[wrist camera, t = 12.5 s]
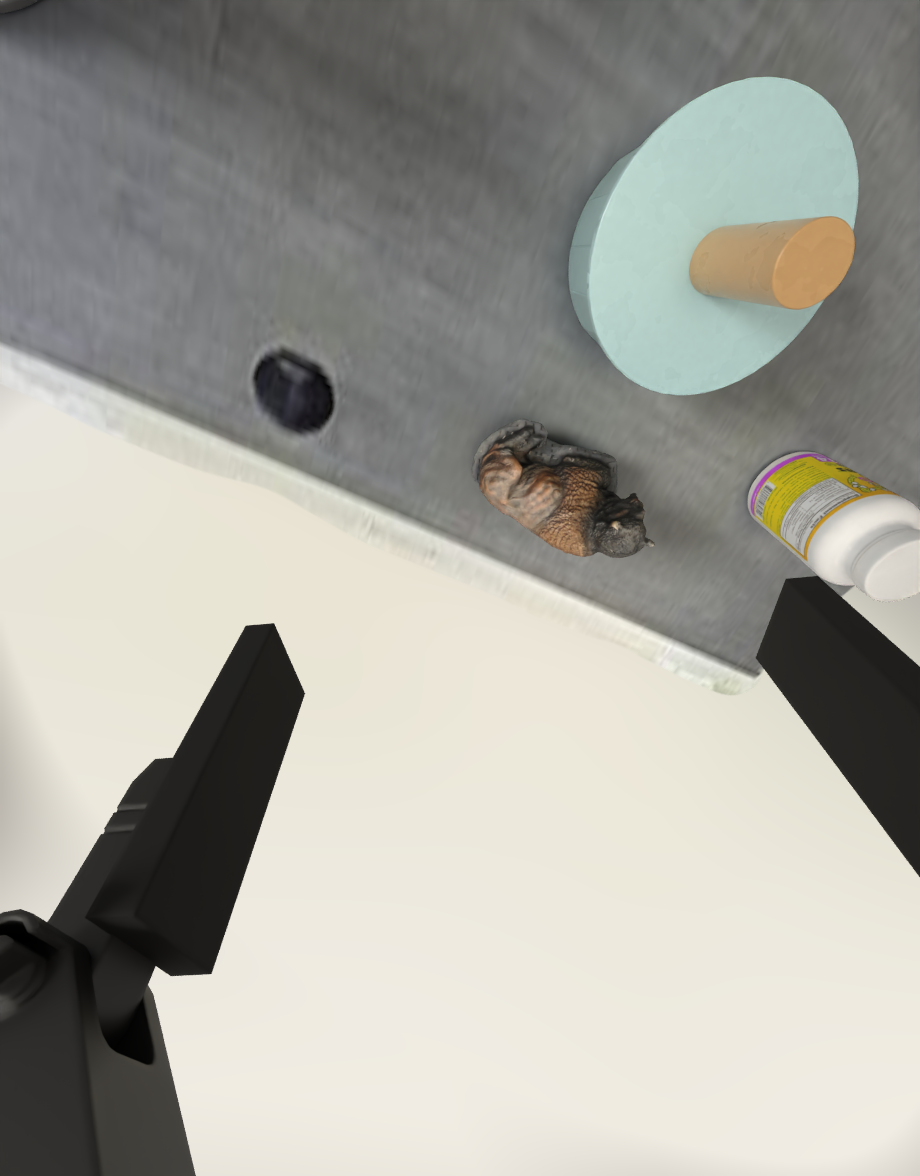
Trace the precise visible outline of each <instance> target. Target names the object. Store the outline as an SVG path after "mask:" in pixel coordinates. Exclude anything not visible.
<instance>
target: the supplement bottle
mask: <svg viewBox="0 0 920 1176" xmlns="http://www.w3.org/2000/svg"><path fill="white" fill-rule="evenodd" d="M747 503H748V509H749V512H750V514H751V516H752V517H753V518H754V519H755V520H756V521H757V522H758V523H759V524H760V525H761V526H762V527H763V528H765V529H766V530H767V531H768V532H769V533H770V534H772V535H773V536H774V537H775V538H776V539H777V540H778V541H780V542H781V543H782V544H783V545H784V546H785V547H787V548H788V549H789V550H790V551H791V552H792V553H793V554H795V555H796V556H797V557H798V558H799V559H800V560H801V561H803V562H804V563H805V564H806V565H807V566H808V567H809V568H810V569H812V570H813V571H814V572H815V573H816V574H817V575H818V576H820V577H821V578H823V579H824V580H826V581H828V582H831V583H834V584H838V585H856V587H857V588H858V589H860V590H861V591H862V592H864V593H865V594H866V595H868V596H869V597H870V598H873V599H874V600H877V601H882V602H891V601H898V600H902V599H905V598H909V597H911V596H913V595H915V594H917V593H919V592H920V510H919V509H918V508H917V507H916V506H915V505H914V504H913V503H911V502H910V501H908V500H906V499H905V498H903V497H901V496H899V495H897V494H895V493H893V492H891V491H889V490H888V489H886V488H884V487H882V486H880V485H878V484H876V483H875V482H873V481H871V480H869V479H868V478H865V477H864V476H861V475H860V474H858V473H856V472H854V471H852V470H851V469H849V468H847V467H845V466H843V465H841V464H839V463H837V462H836V461H834V460H832V459H830V458H828V457H826V456H824V455H821V454H819V453H815V452H807V451H805V452H796V453H792V454H789V455H786V456H783V457H781V458H779V459H777V460H776V461H774V462H773V463H771V464H770V465H769V466H768V467H766V468H765V469H764V470H763V471H762V472H761V473H760V474H759V475H758V477H757V478H756V479H755V481H754V482H753V484H752V486H751V488H750V491H749V494H748V502H747Z"/></svg>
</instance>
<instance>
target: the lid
mask: <svg viewBox="0 0 920 1176" xmlns="http://www.w3.org/2000/svg"><path fill="white" fill-rule="evenodd" d="M858 189H859V180H858V168H857V160H856V156H855V151H854V147H853V143H852V140H851V138H850V135H849V133H848V130H847V128H846V126H845V124H844V122H843V121H842V119H841V118H840V116H839V114H838V113H837V111H836V110H835V109H834V108H833V106H832V105H831V104H830V103H829V102H828V101H827V100H826V99H825V98H824V97H823V96H821V95H820V94H818V93H817V92H815V91H814V90H812V89H811V88H809V87H808V86H806V85H803V84H800V83H798V82H795V81H793V80H790V79H783V78H777V77H754V78H747V79H743V80H739V81H734V82H730V83H728V84H725V85H723V86H720V87H718V88H715V89H713V90H710V91H709V92H707V93H705V94H703V95H702V96H700V97H698V98H696V99H695V100H693V101H691V102H689V103H688V104H686V105H685V106H683V107H682V108H681V109H679V110H678V111H677V112H675V113H674V114H673V115H672V116H670V117H669V118H668V119H666V120H665V121H664V122H663V123H662V124H661V125H660V126H659V127H658V128H657V129H656V130H655V131H654V132H653V133H652V134H651V135H650V136H649V137H648V138H647V139H646V140H645V141H644V143H643V144H642V145H641V146H640V147H639V149H638V150H637V151H636V152H635V153H634V155H633V156H632V158H631V159H630V160H629V162H628V163H627V165H626V166H625V168H624V169H623V171H622V172H621V174H620V175H619V177H618V179H617V181H616V183H615V185H614V186H613V188H612V190H611V192H610V194H609V196H608V198H607V200H606V203H605V205H604V207H603V210H602V212H601V214H600V217H599V220H598V224H597V227H596V230H595V233H594V236H593V241H592V245H591V250H590V255H589V263H588V272H587V299H588V307H589V314H590V318H591V322H592V326H593V330H594V332H595V335H596V337H597V340H598V342H599V344H600V346H601V348H602V349H603V351H604V353H605V355H606V356H607V358H608V359H609V360H610V361H611V363H612V364H613V365H614V366H615V367H616V368H617V369H618V370H619V371H620V372H621V373H622V374H623V375H624V376H626V377H627V378H628V379H630V380H632V381H633V382H635V383H636V384H638V385H639V386H642V387H644V388H646V389H649V390H651V391H655V392H658V393H662V394H669V395H695V394H701V393H707V392H710V391H714V390H717V389H720V388H723V387H726V386H728V385H730V384H733V383H735V382H737V381H739V380H741V379H743V378H745V377H747V376H748V375H750V374H752V373H754V372H755V371H757V370H758V369H759V368H761V367H762V366H764V365H765V364H767V363H768V362H769V361H771V360H772V359H773V358H774V357H775V356H777V355H778V354H779V353H780V352H781V351H783V350H784V349H785V348H786V347H787V346H788V345H789V344H790V343H791V342H792V341H793V340H794V339H795V338H796V337H797V335H798V334H799V333H800V332H801V331H802V329H803V328H804V327H805V326H806V325H807V324H808V322H809V321H810V320H811V318H812V317H813V315H814V314H815V313H816V311H817V310H818V308H819V307H820V306H821V304H822V302H823V301H824V299H825V298H826V297H827V296H829V295H830V294H831V293H832V292H833V291H834V290H835V289H836V288H837V287H838V285H839V284H840V283H841V281H842V280H843V279H844V277H845V275H846V274H847V272H848V270H849V268H850V265H851V263H852V260H853V256H854V251H855V237H854V233H853V229H854V225H855V219H856V213H857V206H858Z"/></svg>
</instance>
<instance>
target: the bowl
mask: <svg viewBox="0 0 920 1176" xmlns="http://www.w3.org/2000/svg"><path fill="white" fill-rule="evenodd" d="M639 147H640V146H639ZM639 147H638V148H636V149H634V150H633V151H632V152H630V153H629V154H627V155H626V156H624V157H623V158H621V159H620V160H618V161H617V162H616V163H615V165H614V166H613V167H612V169H611V170H610V171H609V172H608V173H607V174H606V175H605V177H604V178H603V179H602V180H601V181H600V183H599V184H598V186H597V187H596V189H595V190H594V192H593V193H592V194H591V196H590V198H589V199H588V201H587V203H586V205H585V207H584V209H583V211H582V214H581V216H580V219H579V221H578V223H577V226H576V229H575V233H574V236H573V240H572V245H571V250H570V256H569V268H568V273H569V289H570V295H571V299H572V303H573V307H574V309H575V312H576V314H577V317H578V319H579V321H580V324H581V325H582V327H583V328H584V329H585V330H586V331H587V333H588V334H589V335H590V336H591V337H592V338H593V339H594V340H595V341H596V342H597V343H598V344H599V342H598V340H597V337H596V335H595V332H594V330H593V326H592V322H591V318H590V314H589V307H588V299H587V272H588V263H589V255H590V250H591V245H592V241H593V236H594V233H595V230H596V227H597V224H598V220H599V217H600V214H601V212H602V210H603V207H604V205H605V203H606V200H607V198H608V196H609V194H610V192H611V190H612V188H613V186H614V185H615V183H616V181H617V179H618V177H619V175H620V174H621V172H622V171H623V169H624V168H625V166H626V165H627V163H628V162H629V160H630V159H631V158H632V156H633V155H634V153H635V152H636V151H637V150H638V149H639ZM599 345H600V344H599Z"/></svg>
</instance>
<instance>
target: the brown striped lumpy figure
mask: <svg viewBox="0 0 920 1176" xmlns="http://www.w3.org/2000/svg"><path fill="white" fill-rule="evenodd" d="M472 476H473V478H474V480H475V481H476V482H478V483H479V485H480V489H481V491H482V493H483V494H484V496H485V497H486V498H487V500H488V501H489V502H490V503H491V504H492V505H493V506H495V507H496V508H497V509H498V510H500V511H501V512H502V513H503V514H506V515H509V516H511V517H512V518H514V519H515V520H517V521H518V522H519V523H520V524H521V525H522V526H524V527H525V528H527V529H529V530H530V531H531V532H533V533H535V534H536V535H537V536H539V537H540V538H541V539H543V540H544V541H545V542H547V543H548V544H550V545H551V546H552V547H555V548H557V549H559V550H562V551H563V552H565V553H569V554H573V555H577V556H581V557H585V556H590V555H593V554H595V553H597V552H601V553H603V554H605V555H607V556H610V557H614V558H623V557H628V556H631V555H633V554H635V553H637V552H638V551H639V550H641V549H642V548H643V547H644V546H651V547H652V546H654V543H653V542H652V541H651V540H650V539H647V538H646V537H645V535H646V528H645V526H644V524H643V518H644V515H645V510H644V509H643V503H642V502H640V501H639V500H638V497H637V496H636V494H635V493H632V494H631V495H630V496H629V497H627V498H626V499H620V498H619V496H617V495H616V491H617V461H616V459H615V458H614V457H612V456H610V455H608V454H606V453H602V452H599V451H596V450H587V449H584V448H580V447H577V446H572V445H559V444H558V443H556V442H554V441H551V440H549V439H547V430H546V429H545V427H544V426H543V425H542V424H540V423H538V422H533V421H529V420H526V419H521V420H516V421H514V422H512V423H510V424H507V425H505V426H503V427H502V428H500V429H499V430H497V431H496V432H494V433H493V434H491V435H490V436H489V437H487V438H486V439H485V440H484V441H483V442H482V443H481V445H480V447H479V449H478V451H477V453H476V455H475V457H474V460H473V466H472Z"/></svg>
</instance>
